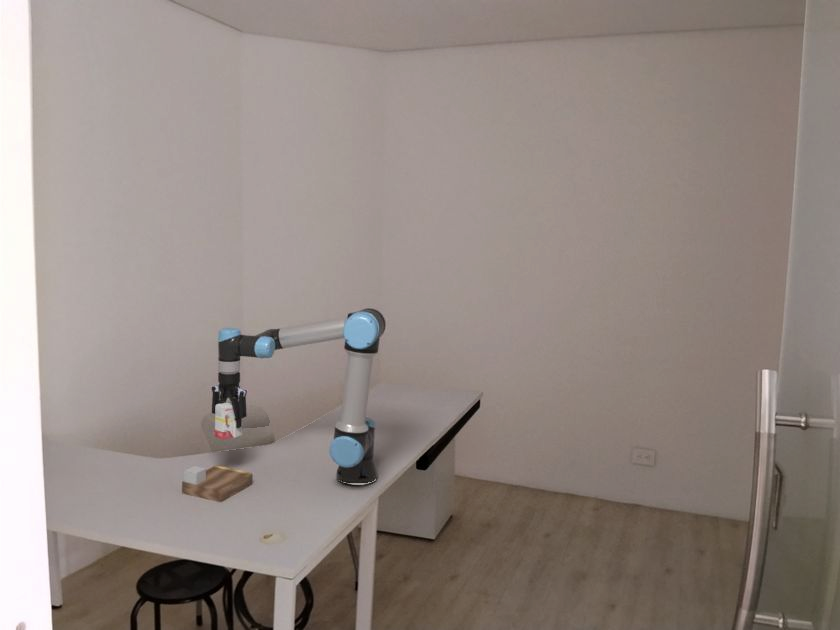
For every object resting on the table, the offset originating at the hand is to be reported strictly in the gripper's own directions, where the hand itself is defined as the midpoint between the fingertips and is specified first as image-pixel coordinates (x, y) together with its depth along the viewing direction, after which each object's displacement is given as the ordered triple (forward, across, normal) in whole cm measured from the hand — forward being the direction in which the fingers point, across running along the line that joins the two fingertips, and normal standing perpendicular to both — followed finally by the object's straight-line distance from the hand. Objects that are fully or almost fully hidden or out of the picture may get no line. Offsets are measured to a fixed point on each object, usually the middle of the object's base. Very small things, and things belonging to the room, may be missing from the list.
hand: (228, 434), depth 259 cm
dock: (+16, -3, +9) cm, 19 cm away
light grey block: (+12, +2, +15) cm, 20 cm away
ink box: (+1, 0, 0) cm, 1 cm away
